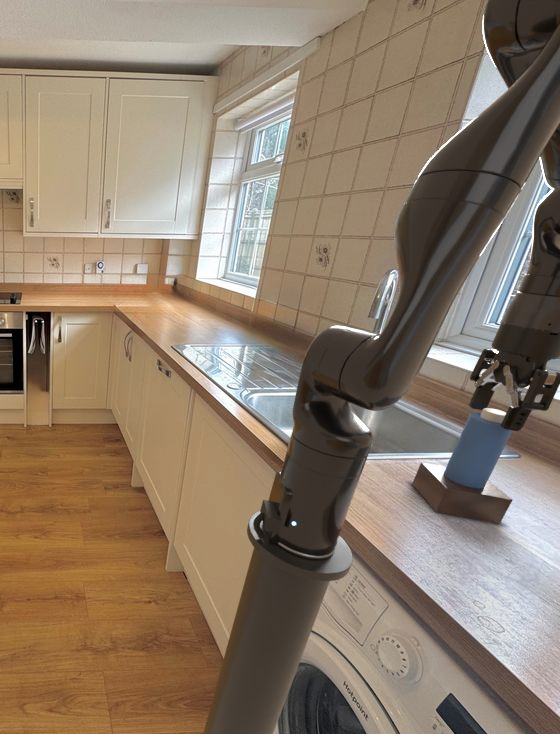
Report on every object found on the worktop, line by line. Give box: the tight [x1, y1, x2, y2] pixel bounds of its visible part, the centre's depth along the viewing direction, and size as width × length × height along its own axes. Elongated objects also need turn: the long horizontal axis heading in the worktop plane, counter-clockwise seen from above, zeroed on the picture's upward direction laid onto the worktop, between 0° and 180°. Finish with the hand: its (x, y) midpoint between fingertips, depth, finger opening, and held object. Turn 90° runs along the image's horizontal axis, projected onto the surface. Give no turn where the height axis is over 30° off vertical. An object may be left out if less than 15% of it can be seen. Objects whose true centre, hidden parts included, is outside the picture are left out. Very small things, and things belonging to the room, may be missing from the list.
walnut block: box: [411, 462, 513, 525], centre depth 74 cm, size 9×9×5 cm
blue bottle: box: [444, 407, 513, 489], centre depth 71 cm, size 5×5×14 cm
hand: (492, 418), depth 69 cm, fingers open, 8 cm apart
